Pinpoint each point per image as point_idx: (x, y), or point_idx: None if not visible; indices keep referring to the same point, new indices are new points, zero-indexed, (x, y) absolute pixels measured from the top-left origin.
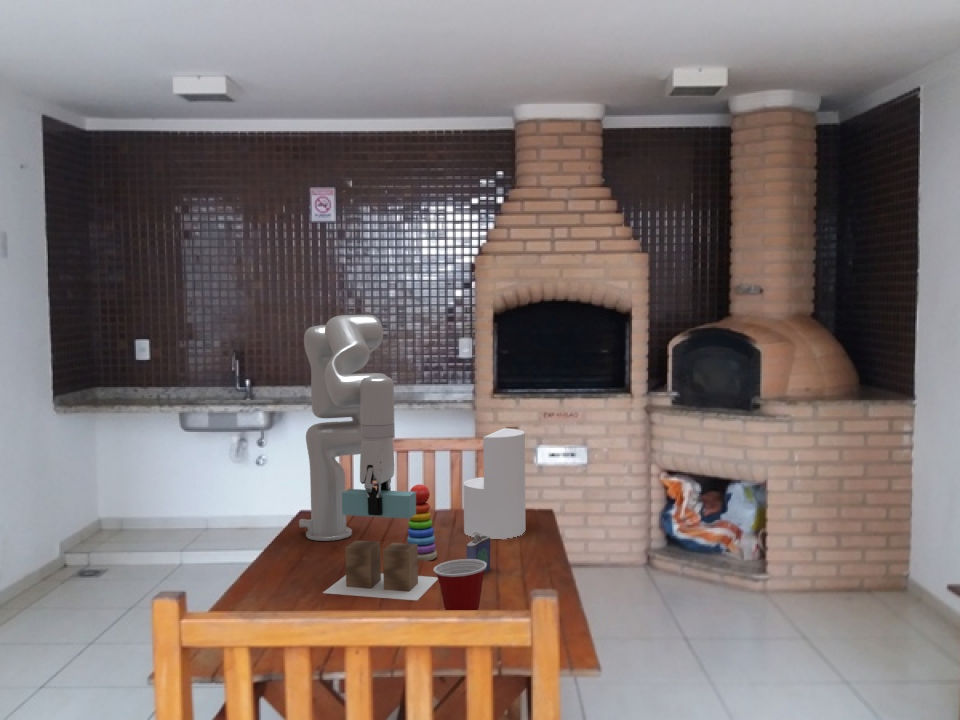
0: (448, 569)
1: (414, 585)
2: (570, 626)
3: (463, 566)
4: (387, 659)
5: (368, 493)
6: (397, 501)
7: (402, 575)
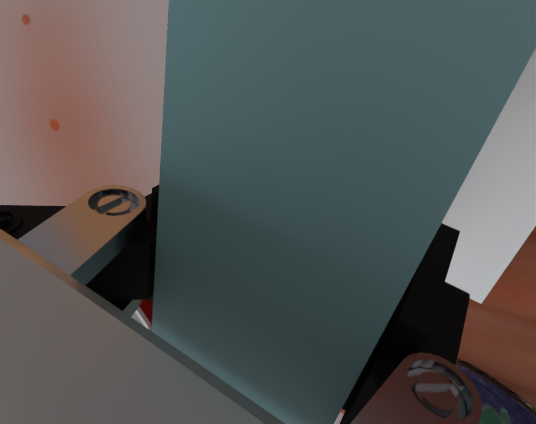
0: (150, 310)
1: None
2: None
3: None
4: (57, 123)
5: (33, 212)
6: None
7: None
